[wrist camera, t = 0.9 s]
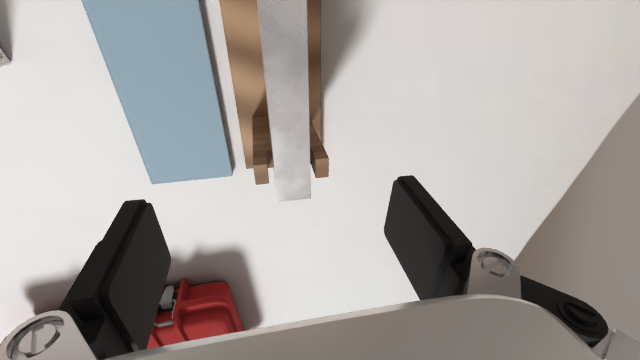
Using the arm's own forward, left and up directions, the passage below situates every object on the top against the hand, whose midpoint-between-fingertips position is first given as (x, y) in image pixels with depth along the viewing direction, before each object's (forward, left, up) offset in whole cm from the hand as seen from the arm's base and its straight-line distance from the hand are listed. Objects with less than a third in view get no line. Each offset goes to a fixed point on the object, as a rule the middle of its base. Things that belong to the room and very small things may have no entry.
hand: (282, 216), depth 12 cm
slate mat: (-1, -10, -27) cm, 29 cm away
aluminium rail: (-2, +2, -17) cm, 17 cm away
